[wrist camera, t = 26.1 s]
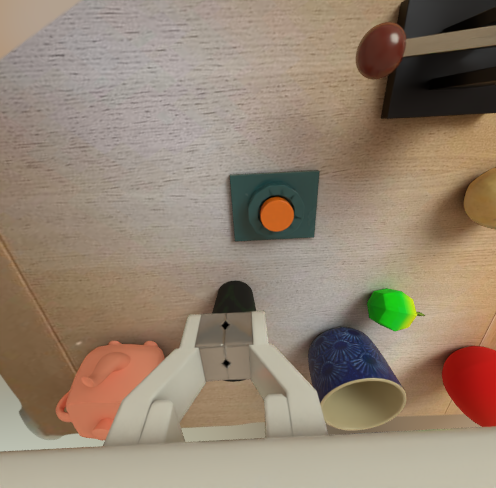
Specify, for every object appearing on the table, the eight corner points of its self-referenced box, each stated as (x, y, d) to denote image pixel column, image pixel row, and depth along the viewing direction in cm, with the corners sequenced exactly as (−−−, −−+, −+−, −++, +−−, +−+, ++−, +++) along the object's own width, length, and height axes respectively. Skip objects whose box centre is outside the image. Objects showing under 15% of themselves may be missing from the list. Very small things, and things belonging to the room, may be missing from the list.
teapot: (144, 394, 51) (117, 474, 40) (71, 352, 45) (14, 431, 34) (196, 361, 47) (182, 439, 35) (123, 310, 41) (78, 384, 30)
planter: (384, 325, 43) (424, 386, 34) (353, 371, 49) (380, 435, 39) (317, 313, 42) (339, 372, 32) (293, 362, 47) (306, 425, 38)
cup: (224, 267, 37) (217, 328, 27) (268, 287, 39) (277, 351, 29) (203, 303, 40) (189, 370, 30) (244, 319, 42) (245, 388, 32)
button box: (235, 239, 35) (234, 247, 33) (229, 174, 31) (228, 179, 29) (313, 235, 35) (317, 243, 33) (318, 169, 31) (323, 174, 29)
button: (260, 227, 32) (261, 232, 31) (259, 197, 30) (260, 201, 29) (291, 226, 32) (293, 230, 31) (292, 195, 30) (294, 199, 29)
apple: (384, 329, 34) (444, 338, 34) (384, 282, 35) (442, 292, 36) (355, 325, 40) (406, 333, 41) (356, 286, 42) (405, 294, 43)
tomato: (507, 344, 46) (592, 417, 35) (461, 382, 51) (522, 457, 40) (456, 326, 44) (530, 398, 33) (412, 367, 49) (463, 442, 37)
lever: (355, 83, 23) (350, 79, 20) (361, 33, 21) (356, 21, 18) (603, 59, 16) (646, 49, 14) (639, -16, 15) (697, -44, 12)
